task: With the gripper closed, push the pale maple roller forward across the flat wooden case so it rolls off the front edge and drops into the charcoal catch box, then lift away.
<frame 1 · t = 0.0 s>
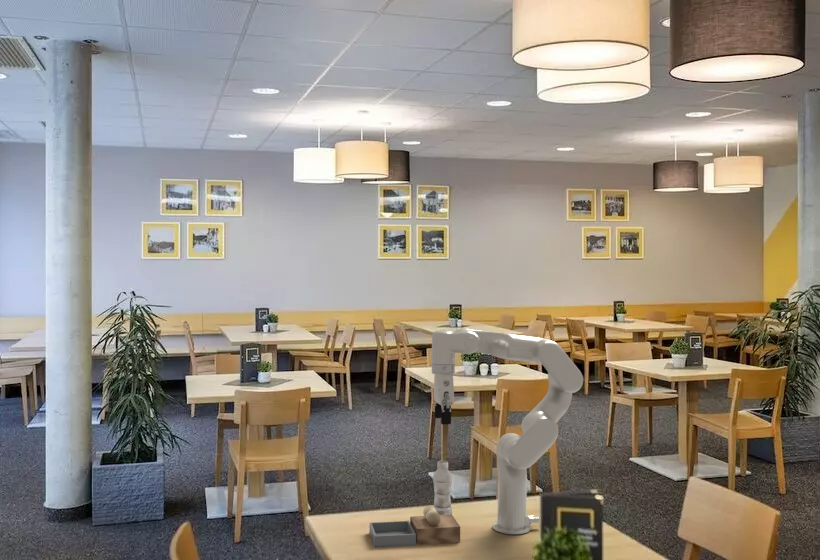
hand: (442, 420, 267), 37 cm above the table, tool pointing down, fingers open, 9 cm apart
maple roller: (431, 521, 264), point 5 cm above the table, touching flat wooden case
plastic bottle: (442, 520, 281), on the table
catch box: (392, 539, 261), on the table
flat wooden case: (434, 536, 264), on the table
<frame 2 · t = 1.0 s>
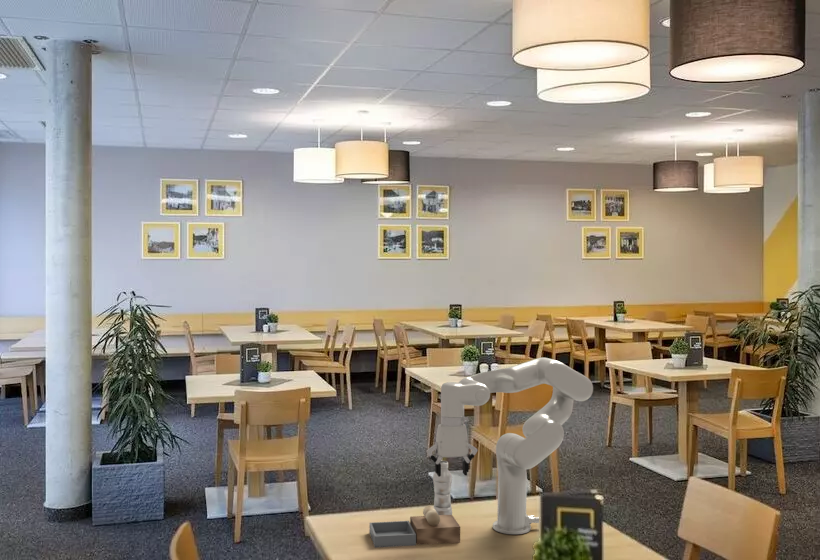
hand: (451, 474, 264), 20 cm above the table, tool pointing down, fingers open, 8 cm apart
nothing on the table moved.
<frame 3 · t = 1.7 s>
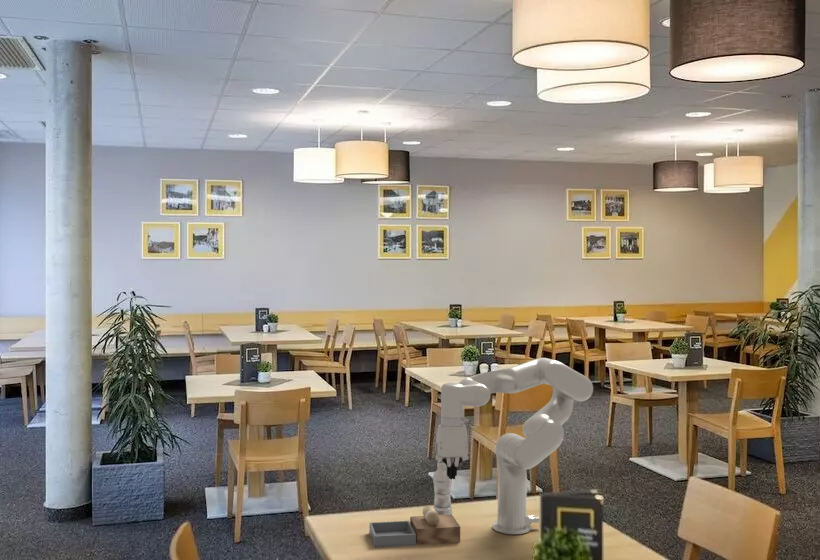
hand: (451, 478, 264), 19 cm above the table, tool pointing down, fingers closed
nothing on the table moved.
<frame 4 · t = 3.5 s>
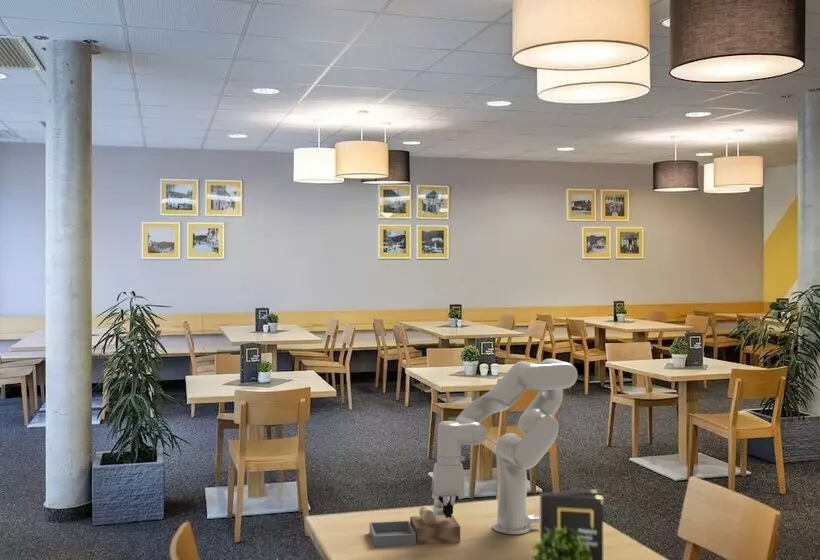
hand: (447, 516, 264), 7 cm above the table, tool pointing down, fingers closed
maple roller: (431, 520, 264), point 5 cm above the table, tilted 39°, touching flat wooden case
everything else where it was.
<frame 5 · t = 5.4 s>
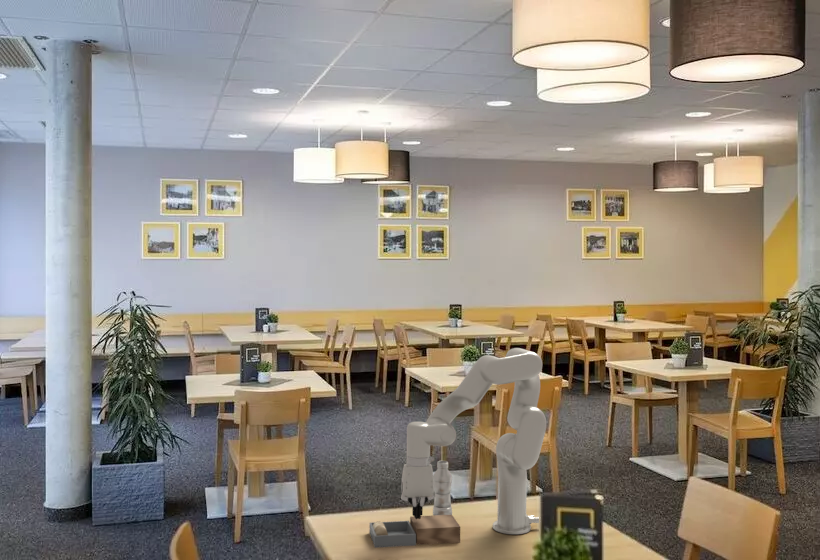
hand: (417, 517, 263), 7 cm above the table, tool pointing down, fingers closed
maple roller: (382, 525, 261), point 5 cm above the table, tilted 160°, touching catch box
everything else where it was.
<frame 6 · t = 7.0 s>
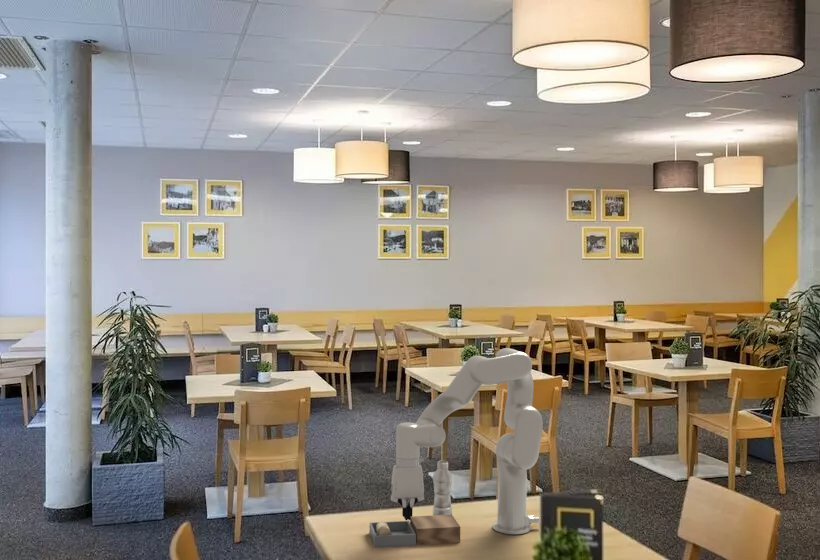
hand: (407, 518, 262), 6 cm above the table, tool pointing down, fingers closed
maple roller: (387, 526, 261), point 4 cm above the table, tilted 148°, touching catch box
everything else where it was.
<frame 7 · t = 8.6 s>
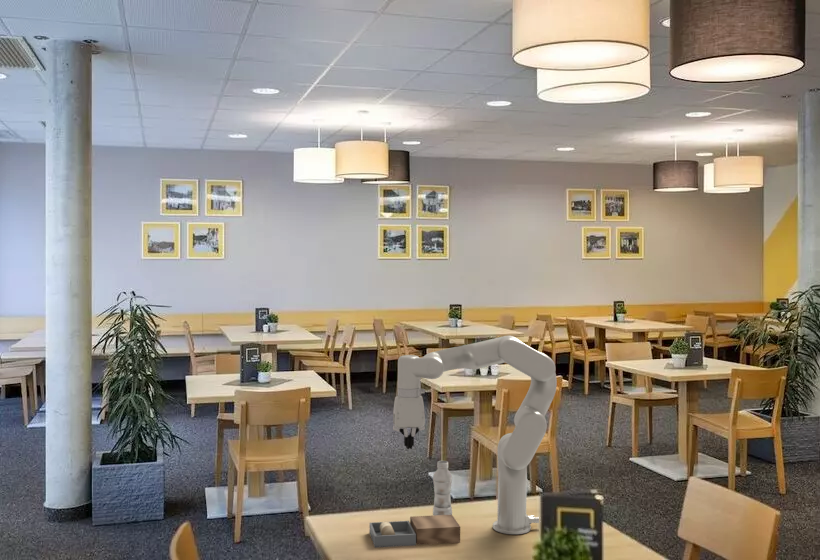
hand: (408, 447, 271), 27 cm above the table, tool pointing down, fingers closed
maple roller: (393, 529, 261), point 3 cm above the table, tilted 114°, touching catch box
everything else where it was.
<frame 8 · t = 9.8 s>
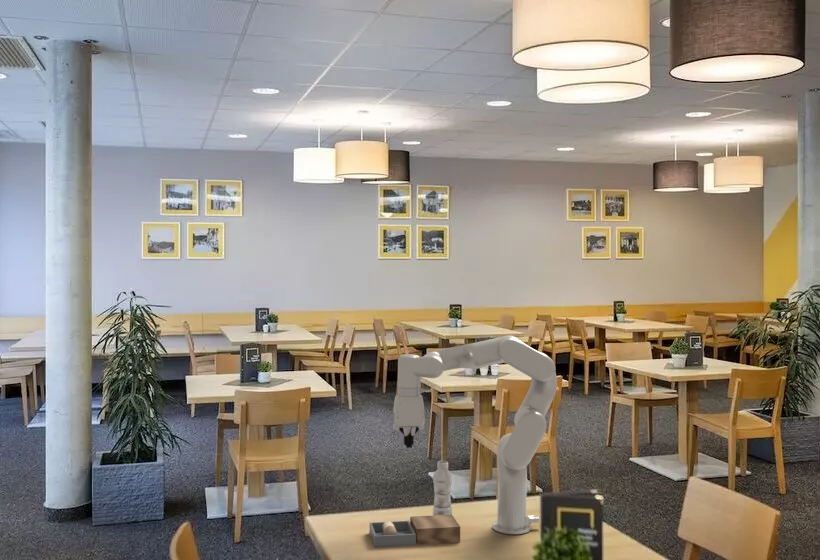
hand: (408, 446, 272), 27 cm above the table, tool pointing down, fingers closed
maple roller: (396, 531, 262), point 3 cm above the table, tilted 90°, touching catch box
everything else where it was.
at the end: maple roller inside the target area on the catch box (1.4 cm from its centre), point 2.4 cm above the catch box's base; the gripper is holding nothing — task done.
